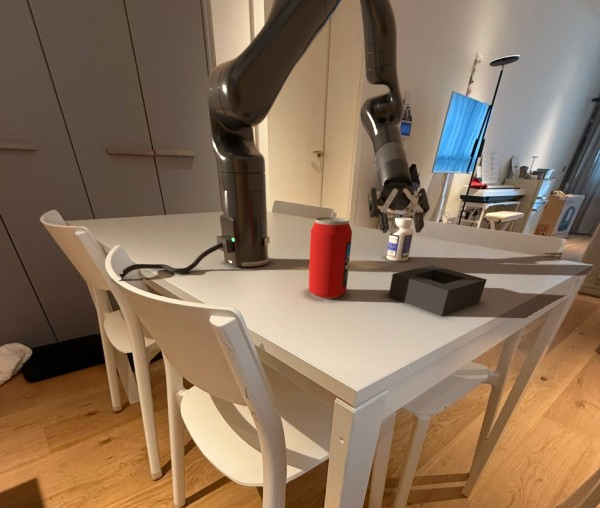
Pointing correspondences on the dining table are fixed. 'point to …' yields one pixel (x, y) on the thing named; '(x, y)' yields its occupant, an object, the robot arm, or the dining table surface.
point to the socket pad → (436, 289)
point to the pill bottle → (400, 239)
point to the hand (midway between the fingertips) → (403, 230)
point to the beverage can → (329, 257)
